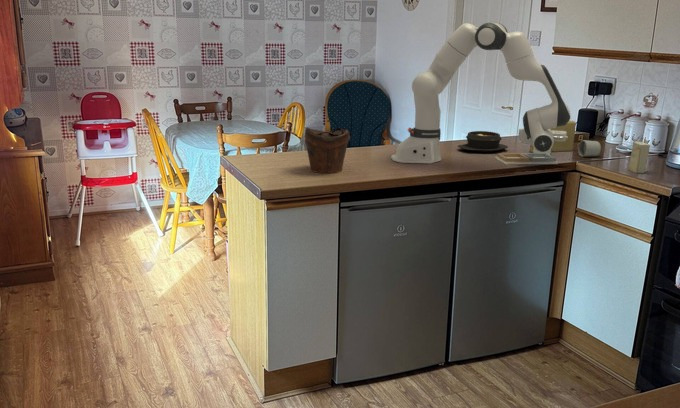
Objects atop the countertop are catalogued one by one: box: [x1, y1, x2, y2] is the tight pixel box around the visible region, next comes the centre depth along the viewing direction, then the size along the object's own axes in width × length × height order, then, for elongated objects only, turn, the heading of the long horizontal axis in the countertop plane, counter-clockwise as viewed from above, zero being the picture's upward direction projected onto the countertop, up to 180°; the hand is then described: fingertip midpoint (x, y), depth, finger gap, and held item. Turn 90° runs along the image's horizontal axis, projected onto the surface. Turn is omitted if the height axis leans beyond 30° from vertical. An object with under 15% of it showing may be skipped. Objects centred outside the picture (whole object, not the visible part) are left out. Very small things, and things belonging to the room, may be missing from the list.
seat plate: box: [494, 152, 559, 165], centre depth 277 cm, size 24×13×2 cm, turn 95°
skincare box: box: [628, 141, 651, 174], centre depth 258 cm, size 6×4×12 cm
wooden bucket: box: [304, 127, 351, 174], centre depth 253 cm, size 18×20×18 cm
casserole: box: [457, 130, 509, 153], centre depth 299 cm, size 25×19×8 cm
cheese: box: [529, 119, 577, 153], centre depth 299 cm, size 22×10×15 cm, turn 112°
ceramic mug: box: [577, 139, 602, 158], centre depth 290 cm, size 11×8×8 cm
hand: (542, 132), depth 275 cm, fingers closed on sleeve, 5 cm apart
